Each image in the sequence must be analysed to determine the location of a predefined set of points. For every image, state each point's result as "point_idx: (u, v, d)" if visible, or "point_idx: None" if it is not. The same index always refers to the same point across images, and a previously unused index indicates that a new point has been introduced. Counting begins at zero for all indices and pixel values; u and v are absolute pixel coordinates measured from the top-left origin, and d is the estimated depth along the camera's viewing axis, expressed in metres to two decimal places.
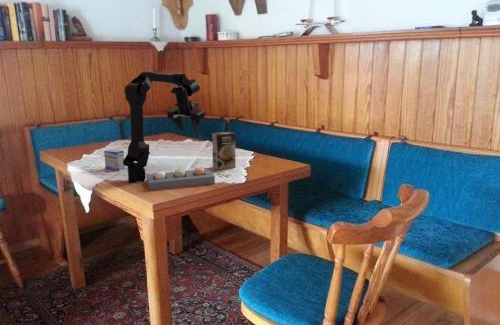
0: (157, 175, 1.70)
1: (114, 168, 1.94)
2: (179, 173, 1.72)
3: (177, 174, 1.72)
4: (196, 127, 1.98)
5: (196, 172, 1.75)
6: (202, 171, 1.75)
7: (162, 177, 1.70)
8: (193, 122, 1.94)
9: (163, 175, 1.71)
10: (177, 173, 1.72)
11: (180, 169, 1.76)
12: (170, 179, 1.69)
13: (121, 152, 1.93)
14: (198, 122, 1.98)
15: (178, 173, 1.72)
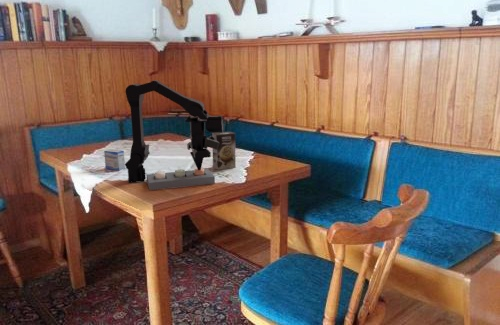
0: (157, 175, 1.70)
1: (114, 168, 1.94)
2: (179, 173, 1.72)
3: (177, 174, 1.72)
4: (197, 164, 1.75)
5: (196, 173, 1.75)
6: (202, 172, 1.75)
7: (162, 177, 1.70)
8: (192, 157, 1.72)
9: (163, 175, 1.71)
10: (177, 173, 1.72)
11: (180, 169, 1.76)
12: (170, 179, 1.69)
13: (121, 152, 1.93)
14: (201, 159, 1.74)
15: (178, 173, 1.72)
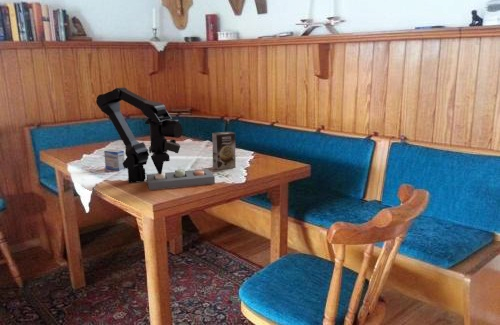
0: (157, 176, 1.70)
1: (114, 168, 1.94)
2: (179, 173, 1.72)
3: (177, 174, 1.72)
4: (158, 168, 1.70)
5: (196, 175, 1.75)
6: (202, 174, 1.75)
7: (162, 178, 1.71)
8: None
9: (163, 176, 1.71)
10: (177, 173, 1.72)
11: (180, 169, 1.76)
12: (170, 179, 1.69)
13: (121, 152, 1.93)
14: (161, 163, 1.69)
15: (178, 173, 1.72)
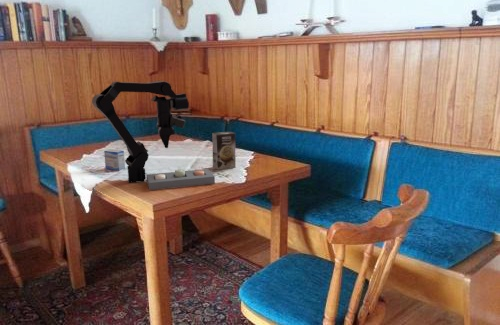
0: (157, 178, 1.70)
1: (114, 168, 1.94)
2: (179, 173, 1.72)
3: (177, 174, 1.72)
4: (164, 142, 1.81)
5: (196, 175, 1.75)
6: (202, 174, 1.75)
7: None
8: (159, 135, 1.79)
9: (163, 178, 1.71)
10: (177, 173, 1.72)
11: (180, 169, 1.76)
12: (170, 179, 1.69)
13: (121, 152, 1.93)
14: (167, 137, 1.80)
15: (178, 173, 1.72)
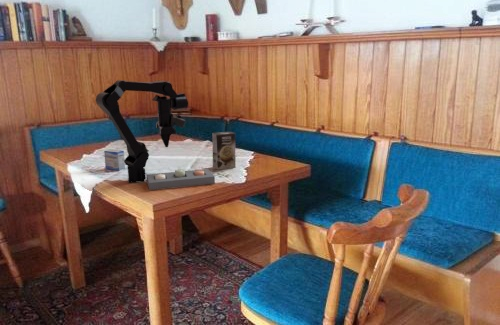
0: (157, 178, 1.70)
1: (114, 168, 1.94)
2: (179, 173, 1.72)
3: (177, 174, 1.72)
4: (165, 141, 1.83)
5: (196, 175, 1.75)
6: (202, 174, 1.75)
7: None
8: None
9: (163, 178, 1.71)
10: (177, 173, 1.72)
11: (180, 169, 1.76)
12: (170, 179, 1.69)
13: (121, 152, 1.93)
14: (168, 137, 1.82)
15: (178, 173, 1.72)
